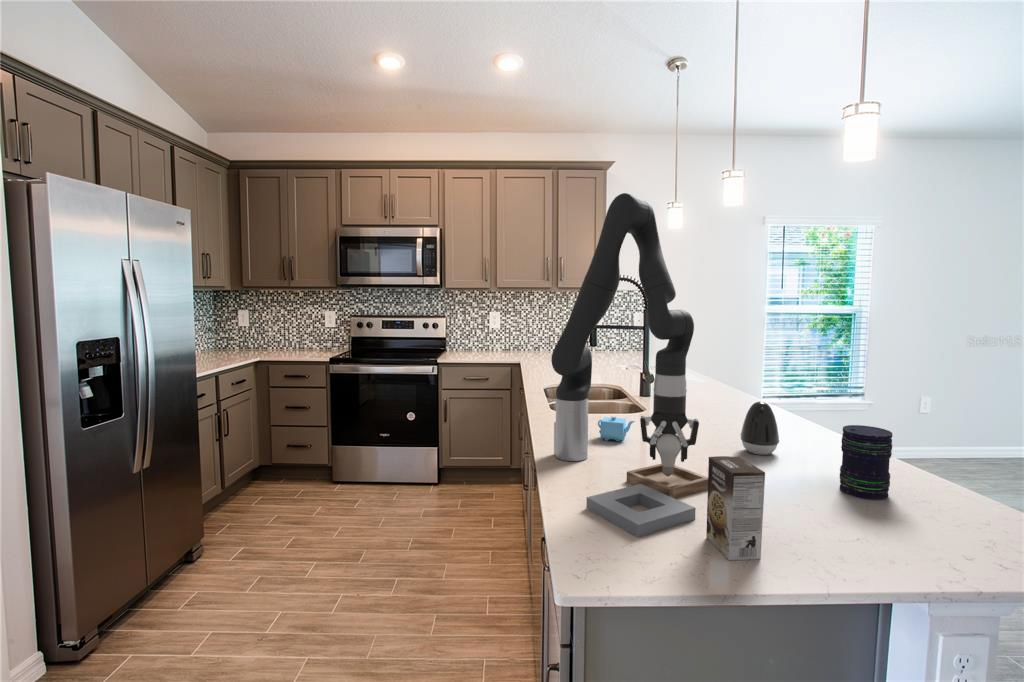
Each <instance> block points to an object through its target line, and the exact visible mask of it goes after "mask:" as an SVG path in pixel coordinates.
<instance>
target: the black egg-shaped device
mask: <svg viewBox="0 0 1024 682" xmlns="http://www.w3.org/2000/svg"><path fill="white" fill-rule="evenodd" d="M740 440H741V443H742V445H743V448H744V449H745V450H746V451H747V452H749V453H751V454H753V455H757V456H758V455H759V456H767V455H770V454H772V453H774V451H776V449H777V447H778V444H779V443H780V435H779V428H778V424H777V421H776V417H775V413H774V411H773V409H772V408H771V406H770V405H769V404H768V403H766V402H765V401H756V402H754V403H753V404H751V405H750V407H749V409H748V411H747V412H746V414H745V418H744V420H743V424H742V428H741V432H740Z"/></svg>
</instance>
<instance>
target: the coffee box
mask: <svg viewBox="0 0 1024 682" xmlns="http://www.w3.org/2000/svg"><path fill="white" fill-rule="evenodd" d="M707 470H708V471H707V477H708V489H707V505H706V506H707V507H706V539H707V540H709V542H710V543H711V544H712V545H713V546H714V547H715V548H716V549H717V550H718V551H719V552H720V553H721V554H722V555H723V556H724V557H725V559H727V561H744V560H746V561H747V560H748V561H749V559H750V560H761V558H762V557H761V556H762V541H763V540H762V538H763V523H764V521H763V519H764V503H765V502H764V501H765V484H766V483H765V481H766V471H764V470H762V469H760V468H758V467H757V466H756V465H754V464H752V463H750V461H748V460H746V459H744V458H742V456H727V455H724V456H723V455H722V456H709V457H708V467H707Z"/></svg>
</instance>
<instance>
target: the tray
mask: <svg viewBox="0 0 1024 682" xmlns="http://www.w3.org/2000/svg"><path fill="white" fill-rule="evenodd" d="M627 481H628V483H629V482H630V484H632V485H633V486H634V485H638V484H642V485H645V486H647V487H649V488H652V489H654V490H656V491H658V492H661V493H663V494H665V495H668V496H670V497H672V498H675V499H678V498H681V497H682V498H683V497H685V495H686V496H689V495H692V493H693V494H696V493H698V492H699V491H700V492H702V491H706V489H707V490H708V476H705V475H702V474H700V473H696V472H694V471H691V470H689V469H685V468H683V467H680V466H679V465H675V466H674V469H673V474H672V475H670V476H666V475H665V474H663V473H662V465H661V463H657V464H654V465H650V466H646V467H640V468H637V469H632V470H628V471H626V482H627ZM695 492H696V493H695ZM700 492H699V493H700ZM688 494H689V495H688Z"/></svg>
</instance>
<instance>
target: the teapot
mask: <svg viewBox="0 0 1024 682" xmlns="http://www.w3.org/2000/svg"><path fill="white" fill-rule="evenodd" d="M634 422H636V420H630V421H629V422H628V423H627V418H619V417H616V416H615V415H613V416H610V417H607V416H606V417H605V416H604V417H603V418H602V419H599V420H598V421H597V426H598V428H599V431H598V432H599V435H600V439H603V440H609V441H610V440H616V441H619V440H620V441H624V439H625V438H626V436H627V433H628V432H629V431H630V428H631V426H632V424H633V423H634ZM616 441H615V442H616Z"/></svg>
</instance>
